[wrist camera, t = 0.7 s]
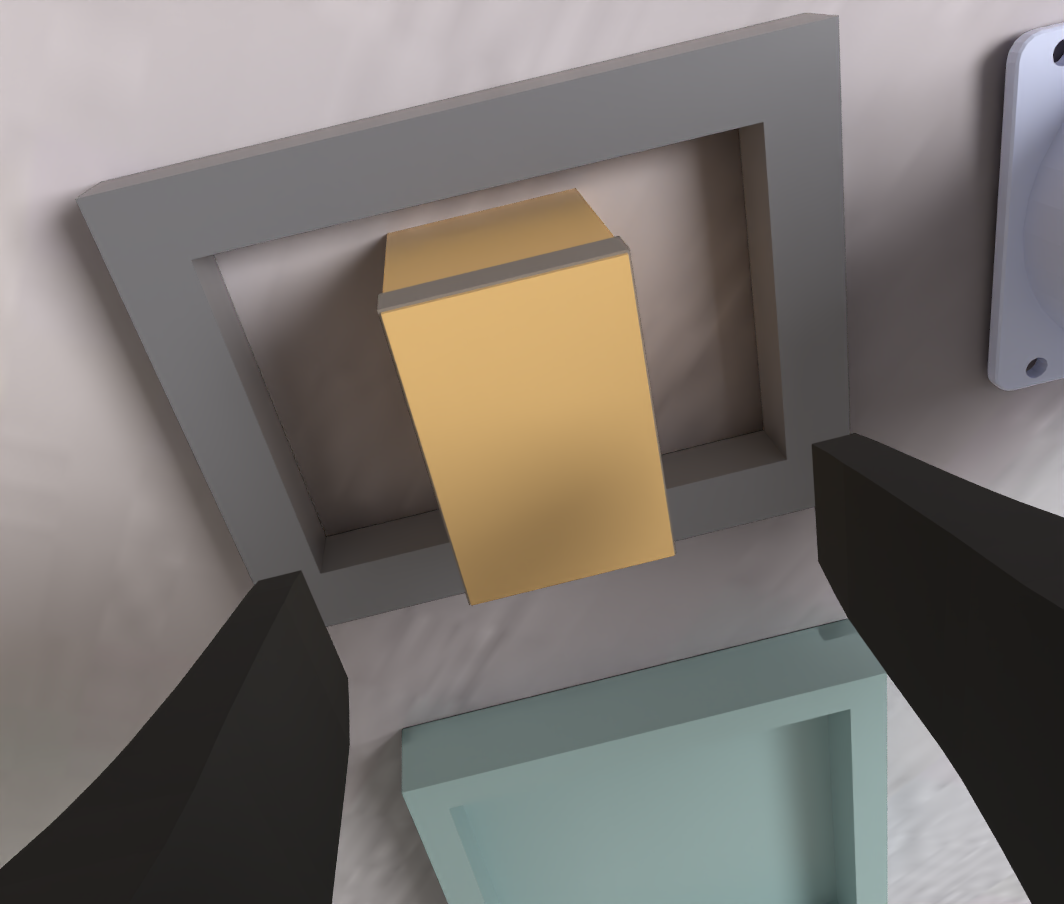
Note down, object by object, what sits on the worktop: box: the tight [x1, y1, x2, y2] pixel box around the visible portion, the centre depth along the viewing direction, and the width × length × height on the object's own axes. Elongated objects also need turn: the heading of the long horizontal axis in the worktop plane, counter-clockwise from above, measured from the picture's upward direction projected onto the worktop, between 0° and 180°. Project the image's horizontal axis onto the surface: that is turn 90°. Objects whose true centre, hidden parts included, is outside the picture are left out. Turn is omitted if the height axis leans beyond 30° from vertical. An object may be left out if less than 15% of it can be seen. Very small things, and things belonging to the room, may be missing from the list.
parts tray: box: [402, 619, 887, 904], centre depth 27 cm, size 13×13×2 cm
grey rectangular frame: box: [75, 13, 850, 627], centre depth 19 cm, size 14×10×2 cm
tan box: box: [377, 188, 676, 606], centre depth 17 cm, size 4×6×5 cm
